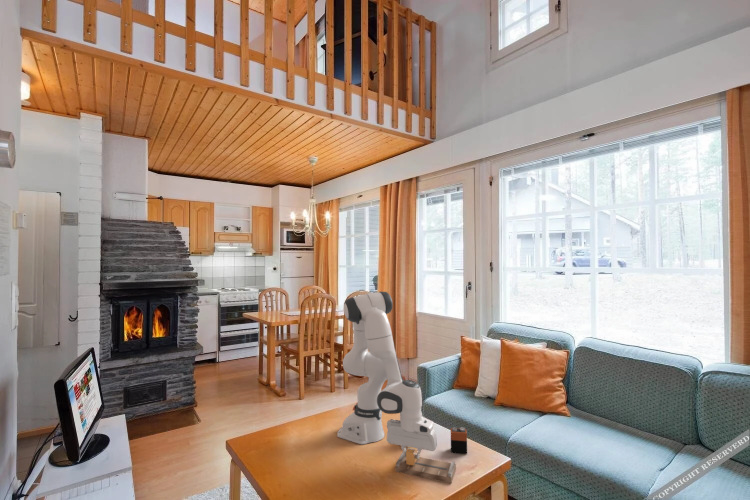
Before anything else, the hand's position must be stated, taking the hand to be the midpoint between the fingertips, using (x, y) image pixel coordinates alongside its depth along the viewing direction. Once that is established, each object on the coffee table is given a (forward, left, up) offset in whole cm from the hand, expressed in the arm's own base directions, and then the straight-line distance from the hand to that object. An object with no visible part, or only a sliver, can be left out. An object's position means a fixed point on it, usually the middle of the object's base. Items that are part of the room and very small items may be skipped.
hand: (411, 457), depth 149 cm
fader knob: (0, 0, -2) cm, 2 cm away
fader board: (+6, 0, -4) cm, 7 cm away
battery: (+16, +19, -4) cm, 25 cm away
